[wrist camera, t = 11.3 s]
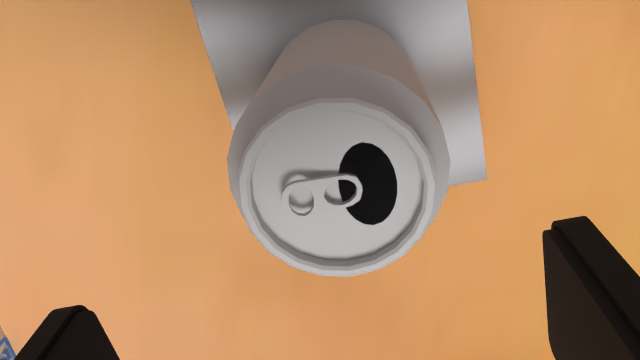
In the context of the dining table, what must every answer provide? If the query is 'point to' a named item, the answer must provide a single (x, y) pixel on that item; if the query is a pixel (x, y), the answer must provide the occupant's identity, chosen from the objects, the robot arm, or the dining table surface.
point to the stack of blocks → (5, 348)
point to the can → (339, 153)
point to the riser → (372, 8)
